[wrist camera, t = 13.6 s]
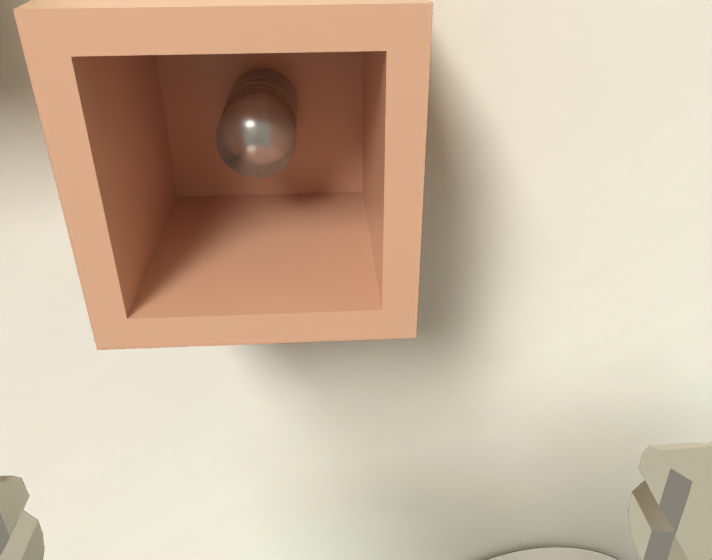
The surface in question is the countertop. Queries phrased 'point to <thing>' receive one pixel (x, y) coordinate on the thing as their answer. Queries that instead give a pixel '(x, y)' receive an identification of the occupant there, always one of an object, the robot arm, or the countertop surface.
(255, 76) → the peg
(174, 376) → the countertop surface
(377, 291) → the planter
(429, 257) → the countertop surface
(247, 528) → the countertop surface
